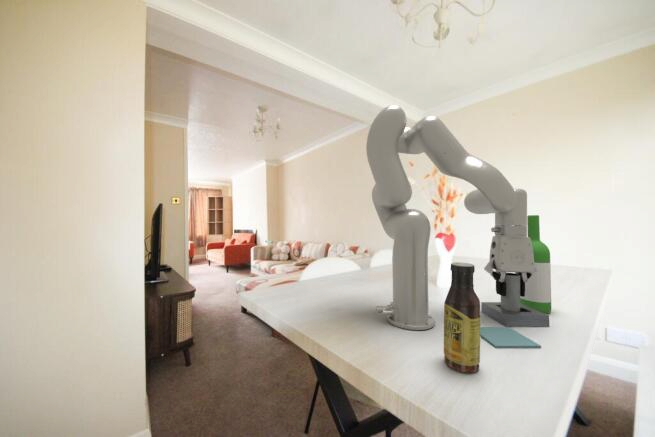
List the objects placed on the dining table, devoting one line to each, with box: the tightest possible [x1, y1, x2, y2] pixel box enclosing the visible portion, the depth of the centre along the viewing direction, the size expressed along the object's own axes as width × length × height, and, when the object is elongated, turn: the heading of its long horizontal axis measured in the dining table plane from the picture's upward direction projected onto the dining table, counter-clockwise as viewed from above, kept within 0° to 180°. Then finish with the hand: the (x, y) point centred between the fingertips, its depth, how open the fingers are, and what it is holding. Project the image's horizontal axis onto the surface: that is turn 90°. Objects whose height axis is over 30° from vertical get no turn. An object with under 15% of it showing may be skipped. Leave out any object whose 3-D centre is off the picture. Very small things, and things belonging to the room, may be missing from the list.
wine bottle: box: [520, 214, 552, 315], centre depth 79 cm, size 8×8×30 cm
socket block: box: [480, 301, 550, 328], centre depth 72 cm, size 11×11×3 cm
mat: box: [480, 326, 542, 349], centre depth 60 cm, size 10×10×1 cm
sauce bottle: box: [443, 261, 481, 374], centre depth 49 cm, size 7×6×20 cm
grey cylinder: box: [500, 272, 520, 312], centre depth 72 cm, size 4×4×10 cm
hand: (510, 294), depth 72 cm, fingers closed on grey cylinder, 4 cm apart
